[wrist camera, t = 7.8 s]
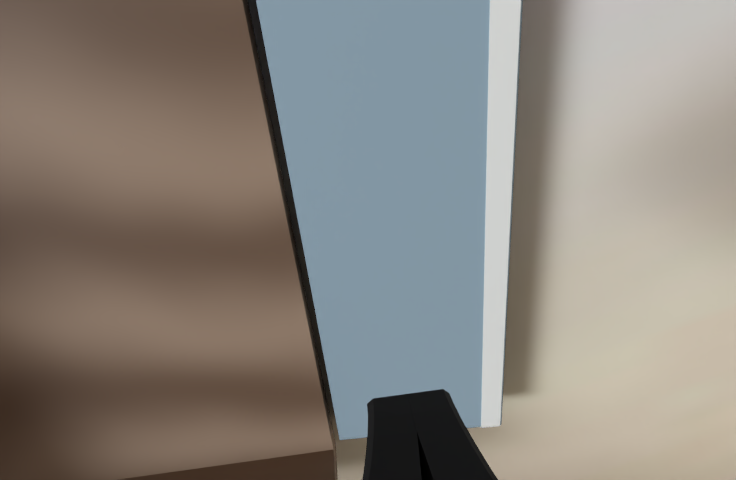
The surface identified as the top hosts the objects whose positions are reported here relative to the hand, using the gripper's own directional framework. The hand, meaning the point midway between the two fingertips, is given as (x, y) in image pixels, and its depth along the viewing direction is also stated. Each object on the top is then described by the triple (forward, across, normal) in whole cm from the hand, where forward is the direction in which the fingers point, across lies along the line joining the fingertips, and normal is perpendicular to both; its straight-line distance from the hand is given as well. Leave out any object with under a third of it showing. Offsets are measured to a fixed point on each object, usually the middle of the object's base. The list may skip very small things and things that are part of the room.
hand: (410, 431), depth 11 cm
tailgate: (+7, +2, 0) cm, 8 cm away
